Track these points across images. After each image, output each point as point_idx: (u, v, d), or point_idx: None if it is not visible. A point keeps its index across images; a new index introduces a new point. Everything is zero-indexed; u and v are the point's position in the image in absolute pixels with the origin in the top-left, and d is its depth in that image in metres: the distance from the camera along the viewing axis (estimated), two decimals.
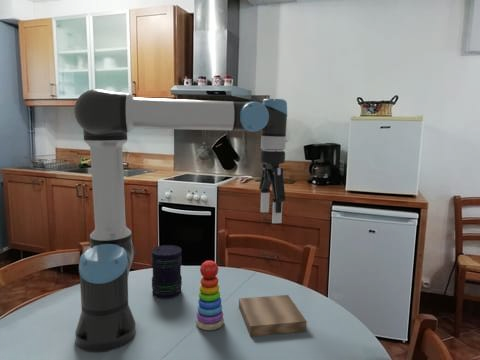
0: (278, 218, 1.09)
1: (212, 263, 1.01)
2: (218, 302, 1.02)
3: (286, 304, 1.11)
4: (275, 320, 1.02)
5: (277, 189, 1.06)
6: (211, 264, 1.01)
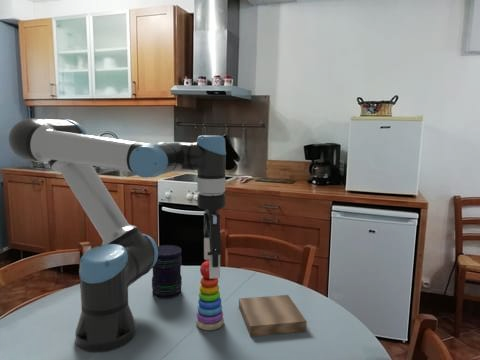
0: (216, 272, 0.95)
1: None
2: (218, 302, 1.02)
3: (286, 304, 1.11)
4: (275, 320, 1.02)
5: (212, 241, 0.92)
6: None
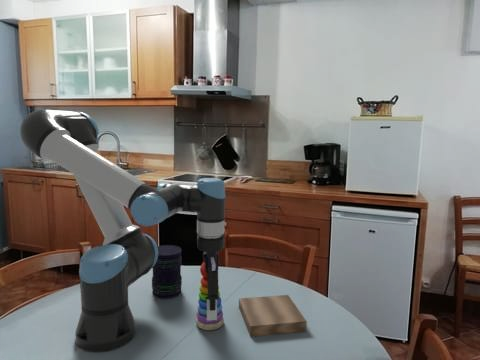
0: (213, 315, 1.00)
1: None
2: (218, 302, 1.02)
3: (286, 304, 1.11)
4: (275, 320, 1.02)
5: (210, 288, 0.96)
6: None
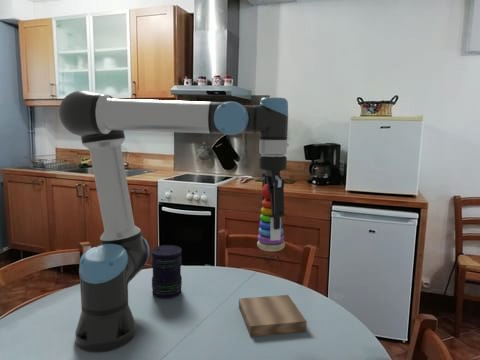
0: (277, 235, 1.00)
1: None
2: None
3: (286, 304, 1.11)
4: (275, 320, 1.02)
5: (276, 204, 0.96)
6: None
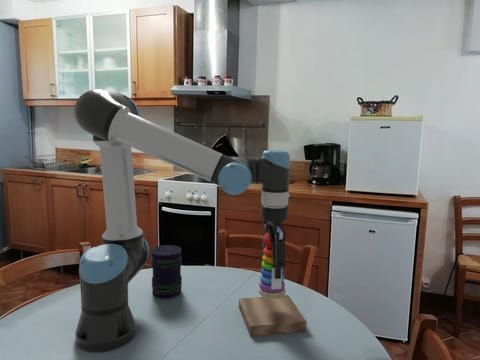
0: (278, 283, 1.02)
1: None
2: None
3: (286, 304, 1.11)
4: (275, 320, 1.02)
5: (277, 256, 0.98)
6: None
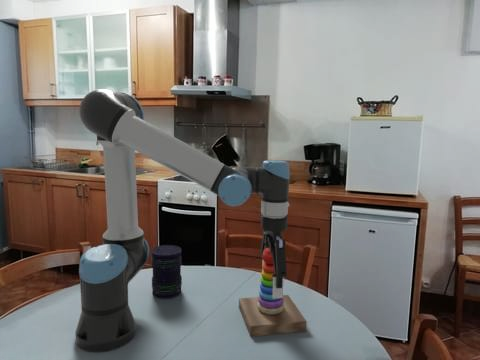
0: (279, 293, 1.01)
1: None
2: None
3: (286, 304, 1.11)
4: (275, 320, 1.02)
5: (278, 264, 0.97)
6: None
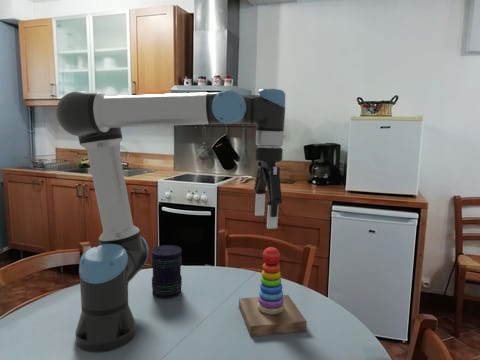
0: (274, 223, 0.97)
1: (275, 249, 1.05)
2: (280, 287, 1.05)
3: (286, 304, 1.11)
4: (275, 320, 1.02)
5: (273, 190, 0.94)
6: (274, 250, 1.04)
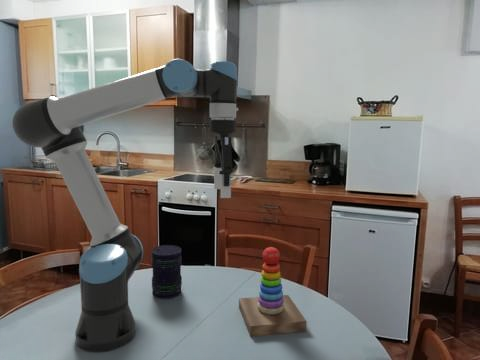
0: (227, 192, 1.00)
1: (274, 249, 1.05)
2: (280, 287, 1.05)
3: (286, 304, 1.11)
4: (275, 320, 1.02)
5: (224, 160, 0.96)
6: (274, 250, 1.04)
